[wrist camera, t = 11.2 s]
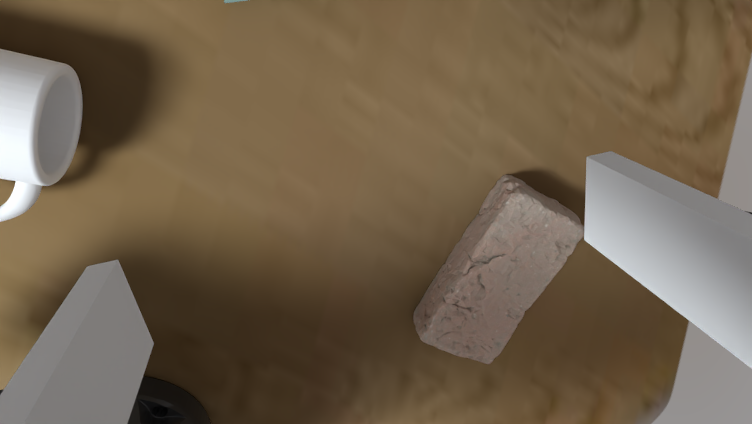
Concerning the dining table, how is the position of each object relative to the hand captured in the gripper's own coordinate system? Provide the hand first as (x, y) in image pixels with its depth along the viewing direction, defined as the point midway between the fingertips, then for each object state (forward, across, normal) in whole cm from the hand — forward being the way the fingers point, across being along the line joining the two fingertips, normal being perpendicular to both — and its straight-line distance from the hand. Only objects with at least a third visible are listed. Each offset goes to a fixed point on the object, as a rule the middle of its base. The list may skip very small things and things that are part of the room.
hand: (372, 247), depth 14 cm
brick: (+27, +13, -19) cm, 35 cm away
